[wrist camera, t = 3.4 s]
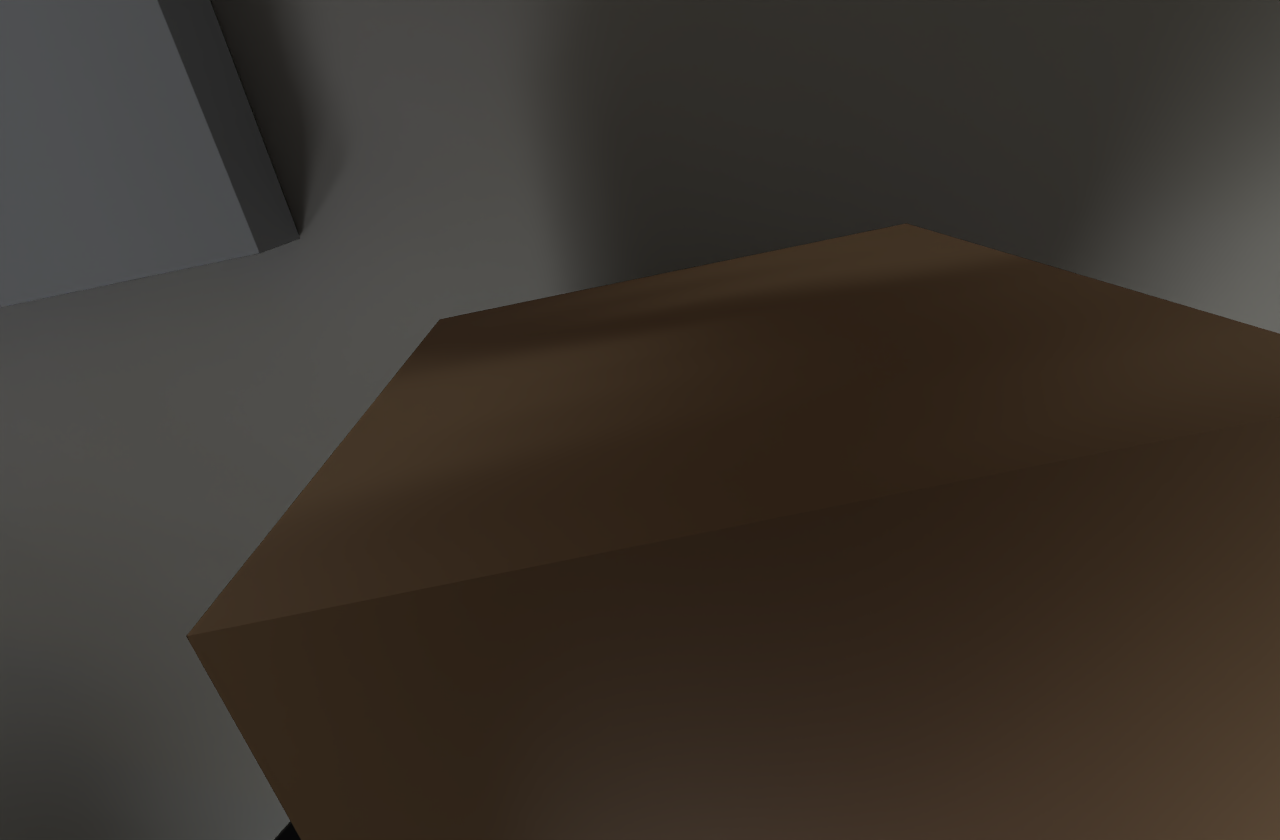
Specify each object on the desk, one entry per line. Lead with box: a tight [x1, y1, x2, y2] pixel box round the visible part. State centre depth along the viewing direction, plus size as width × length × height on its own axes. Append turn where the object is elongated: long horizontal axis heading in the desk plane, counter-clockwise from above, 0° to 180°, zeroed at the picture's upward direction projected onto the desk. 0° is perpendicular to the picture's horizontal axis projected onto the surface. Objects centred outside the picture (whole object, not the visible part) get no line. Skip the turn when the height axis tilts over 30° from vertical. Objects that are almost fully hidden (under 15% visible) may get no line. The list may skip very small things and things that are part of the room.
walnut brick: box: [186, 223, 1280, 840], centre depth 6 cm, size 5×7×5 cm
